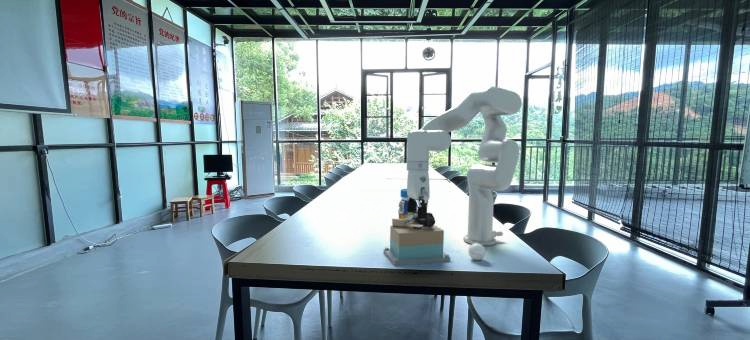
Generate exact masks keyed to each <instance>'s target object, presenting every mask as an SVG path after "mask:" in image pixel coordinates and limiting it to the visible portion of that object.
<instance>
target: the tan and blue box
mask: <svg viewBox="0 0 750 340" xmlns="http://www.w3.org/2000/svg"><path fill="white" fill-rule="evenodd" d="M422 226H423V225H414V224H412V225H410V226H403V227H400V226H392V225H390V228H389V242H390V243H389V244H390V245H389V247H386V246H385V247H384V248H383V254H384V255H385V256H386V257H387V258H388V260H389V261H390V262H391V263H392V265H393V266H395V267H396V266H405V265H416V264H417V265H418V264H426V263H428V264H429V263H439V262H440V263H441V262H450V261H451V256H450V254H448V253H446V252H444V237H445V235H444V234H445V231H444V230H443V228H441V227H438V225H435V224H434V225H433V227H431V228H429V227H422ZM412 227H417V228H420V227H422V228H421V229H417V228H412Z"/></svg>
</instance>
